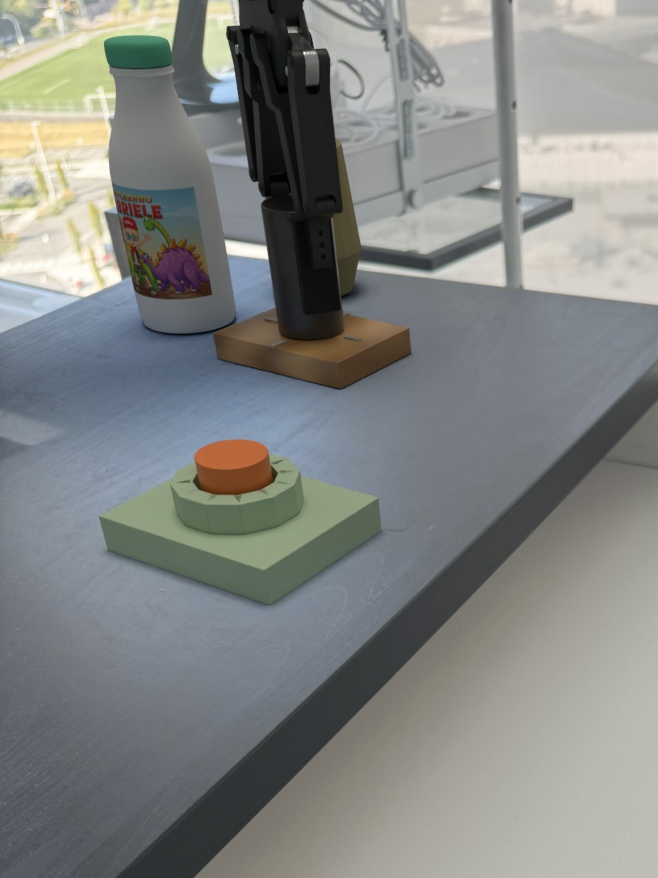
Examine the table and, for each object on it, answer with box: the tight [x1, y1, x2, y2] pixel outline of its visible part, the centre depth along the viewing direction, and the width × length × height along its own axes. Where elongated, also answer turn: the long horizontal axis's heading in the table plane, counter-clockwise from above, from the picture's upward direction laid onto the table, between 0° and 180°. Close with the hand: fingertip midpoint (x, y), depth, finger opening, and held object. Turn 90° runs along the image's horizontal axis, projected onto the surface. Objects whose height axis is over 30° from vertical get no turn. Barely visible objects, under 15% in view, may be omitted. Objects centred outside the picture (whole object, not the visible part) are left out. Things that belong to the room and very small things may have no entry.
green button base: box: [98, 452, 383, 606], centre depth 67 cm, size 12×10×4 cm
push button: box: [193, 438, 273, 495], centre depth 65 cm, size 4×4×2 cm
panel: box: [212, 307, 412, 390], centre depth 91 cm, size 12×9×2 cm
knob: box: [260, 195, 345, 340], centre depth 87 cm, size 5×5×9 cm
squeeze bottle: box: [264, 137, 362, 297], centre depth 98 cm, size 8×8×18 cm
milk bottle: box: [103, 34, 237, 334], centre depth 91 cm, size 8×8×20 cm
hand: (308, 300), depth 89 cm, fingers closed on knob, 5 cm apart
